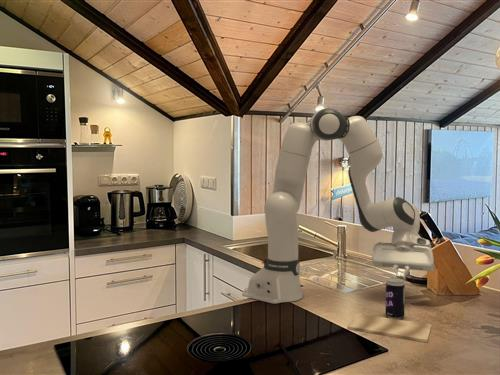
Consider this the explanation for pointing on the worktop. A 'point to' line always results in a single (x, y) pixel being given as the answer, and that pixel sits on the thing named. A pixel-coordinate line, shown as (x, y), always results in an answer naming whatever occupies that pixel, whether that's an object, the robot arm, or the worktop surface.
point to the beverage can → (395, 298)
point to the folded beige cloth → (390, 327)
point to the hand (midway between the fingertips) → (400, 278)
